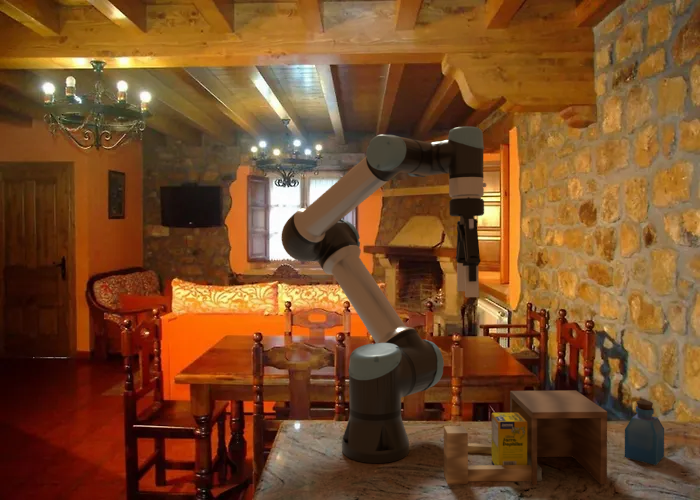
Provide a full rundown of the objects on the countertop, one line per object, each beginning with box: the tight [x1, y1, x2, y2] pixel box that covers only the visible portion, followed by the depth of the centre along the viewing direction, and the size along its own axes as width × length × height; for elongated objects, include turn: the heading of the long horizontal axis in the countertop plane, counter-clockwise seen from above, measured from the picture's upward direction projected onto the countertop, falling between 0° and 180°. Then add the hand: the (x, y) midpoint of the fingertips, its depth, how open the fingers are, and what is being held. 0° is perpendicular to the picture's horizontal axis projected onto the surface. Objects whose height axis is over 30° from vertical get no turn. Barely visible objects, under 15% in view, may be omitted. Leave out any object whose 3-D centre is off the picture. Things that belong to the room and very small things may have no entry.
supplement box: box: [491, 412, 527, 465], centre depth 116 cm, size 6×6×11 cm
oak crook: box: [443, 425, 543, 485], centre depth 115 cm, size 19×12×10 cm, turn 90°
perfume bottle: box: [624, 399, 665, 466], centre depth 122 cm, size 6×6×12 cm
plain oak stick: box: [468, 442, 492, 455], centre depth 125 cm, size 12×2×2 cm, turn 81°
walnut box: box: [509, 389, 608, 486], centre depth 116 cm, size 14×15×14 cm
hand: (467, 294), depth 124 cm, fingers open, 13 cm apart
